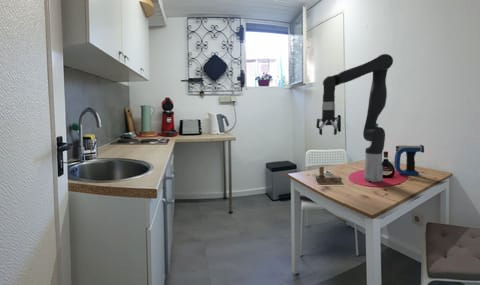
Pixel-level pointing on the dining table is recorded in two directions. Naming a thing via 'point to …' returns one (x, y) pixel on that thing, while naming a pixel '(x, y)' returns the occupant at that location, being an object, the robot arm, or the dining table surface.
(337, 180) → the joist batten
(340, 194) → the dining table surface
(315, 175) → the subfloor panel
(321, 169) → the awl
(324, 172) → the stud finder block
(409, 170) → the handheld scanner
